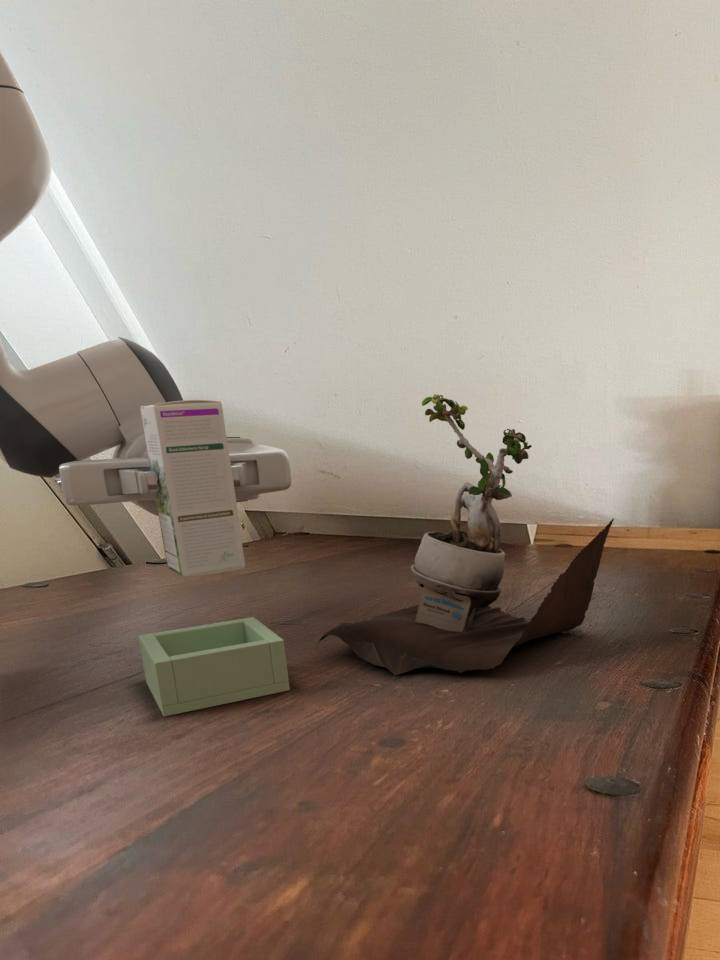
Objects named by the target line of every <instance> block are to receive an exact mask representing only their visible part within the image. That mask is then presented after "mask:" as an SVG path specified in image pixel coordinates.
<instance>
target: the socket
mask: <svg viewBox="0 0 720 960" xmlns="http://www.w3.org/2000/svg"><path fill="white" fill-rule="evenodd" d="M137 638H138V642H139V649H140V654H141V659H142V666H143V671H144V677H145V683H146V685H147V687H148V688H149V691H150V693H151V695H152V697H153V698H154V700H155V702H156V705H157V707H158V709H159V711H160V712H161V714H162V716H163V717H169V716H175V715H179V714H184V713H189V712H193V711H197V710H202V709H207V708H212V707H217V706H221V705H222V706H223V705H226V704H231V703H235V702H241V701H245V700H251V699H254V698H259V697H265V696H269V695H273V694H274V695H275V694H279V693H283V692H289V691H291V687H290V681H289V671H288V664H287V654H286V647H285V645H286V644H285V640H284V639H283V638H282V637H280V636H279V635H278V634H277V633H275V632H274V631H272V630H271V629H270V628H268V627H267V626H266V625H264V624H263V623H262V622H260V621H259V620H258V619H256V618H255V617H254V616H251V617H245V618H238V619H233V620H226V621H219V622H214V623H207V624H200V625H195V626H189V627H181V628H176V629H170V630H164V631H158V632H153V633H146V634H140V635H138V636H137Z"/></svg>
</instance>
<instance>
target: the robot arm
mask: <svg viewBox="0 0 720 960" xmlns="http://www.w3.org/2000/svg"><path fill="white" fill-rule="evenodd" d="M45 138H46V137H45V135H44V133H43V131H42V127H41V125H40V123H39V121H38V118H37V117H36V114H35V112H34V110H33V108H32V106H31V104H30V102H29V100H28V98H27V96H26V94H25V91H24V90H23V88H22V86H21V84H20V82H19V80H18V79H17V77H16V74H15V72H14V71H13V69H12V67H11V65H10V63H9V62H8V61H7V59H6V56H5V55H4V53H3V52H2V50H1V49H0V244H1V243H2V242H3V241H4V240H5V239H6V238H7V237H8V236H10V235H11V234H12V233H13V232H14V231H15V230H17V228H19V227H20V226H21V225H22V224H23V223H24V222H25V221H26V220H27V219H28V218H29V217H30V216H31V215H32V214H33V213H34V212H35V210H37V208H38V207H39V206H40V204H41V203H42V201H43V200H44V197H45V196H46V193H47V191H48V189H49V186H50V183H51V177H52V165H53V164H52V156H51V152H50V148H49V146H48V144H47V140H46V139H45ZM183 400H184V398H183V397H182V394H181V392H180V390H179V387H178V386H177V383H176V382H175V379H174V378H173V377H172V375H171V372H169V370H168V369H167V367H166V365H165V364H164V363H163V362H162V360H160V358H159V357H158V356H157V355H156V354H154V353H153V352H152V351H151V350H149V349H147V348H146V347H144V346H142V345H141V344H139V343H137V342H135V341H133V340H131V339H128V338H125V337H121V336H118V337H116V338H113V339H110V340H106V341H104V342H100V343H97V344H95V345H92V346H89V347H86V348H84V349H81V350H78V351H76V352H75V353H73V354H70V355H67V356H64V357H62V358H59V359H56V360H53V361H51V362H48V363H45V364H41V365H39V366H36V367H34V368H31V369H25V370H23V369H22V370H21V369H18V368H16V367H14V366H13V365H12V364H11V362H10V360H9V357H8V354H7V351H6V349H5V346H4V344H3V341H2V339H1V337H0V459H1V460H2V461H3V462H4V463H6V464H7V465H8V467H9V468H10V469H12V470H14V471H18V472H20V473H24V474H26V475H30V476H36V477H41V478H47V479H48V478H49V479H51V478H54V477H55V478H54V484H55V486H56V487H57V488H61V490H62V494H63V499H64V503H65V504H66V505H68V506H91V505H103V504H116V503H128V502H129V503H132V504H134V505H136V506H138V507H139V508H141V509H143V510H145V511H146V512H147V513H149V514H152V515H154V516H157V517H159V515H158V509H157V503H156V497H155V493H158V492H160V485H159V484H158V483H157V482H158V480H159V478H158V473H157V471H151V469H150V463H149V457H148V451H147V446H146V440H145V434H144V427H143V421H142V415H141V407H140V406H149V405H155V404H161V403H167V402H173V401H183ZM226 438H227V444H228V450H229V457H230V463H231V470H232V476H233V483H234V490H235V496H236V503H242V502H248V501H252V500H257V499H259V497H260V495H262V494H268V493H269V494H270V493H277V492H282V491H285V490H288V489H290V487H291V486H292V474H291V465H290V457H289V454H288V453H287V451H286V450H284V449H282V448H278V447H274V446H271V445H266V444H257V443H254V440H253V439H252V437H251V438H250V437H241V436H226ZM113 448H114V450H113V453H112V457H111V458H105V459H104V458H103V459H101V458H100V459H88V458H91V457H94V456H95V455H98V454H100V453H103V452H105V451H108V450H110V449H113ZM57 475H59V476H57ZM56 476H57V477H56Z"/></svg>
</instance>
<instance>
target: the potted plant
mask: <svg viewBox="0 0 720 960" xmlns="http://www.w3.org/2000/svg"><path fill="white" fill-rule="evenodd" d="M430 402H431V403H432V404H433V408H426V410H425V411H424V415H425V416H426V417H427V416H429V418H428V419H429V421H428V422H429V423H431V422H433V421H434V420H438V421H441V422H447V424H449V426H450V427H451V428H452V430H453V432H454V433H455V434H456V435H457V437H458V438H459V439H458V440H457V441H456V446H457V447H458V448H459V449H465V450H464V456H465V458H466V459H467V460H469V459H471V458H472V457H473V455H474V458H475V462H476V463H477V464H479V466H480V467H479V474H480V475H481V478H480V479H479V481H478V482H477V486H476V485H474V484H473V483H471V482H469V481H465V482H464V483H463V484H462V485H461V487H460V488H459V490H458V492H457V494H456V498H455V502H454V503H455V505H454V511H453V513H452V514H451V516H450V525H451V528H452V531H450V532H441V531H428V532H427V531H426V532H425V533H424V534H423V537H422V539H421V541H420V545H419V546H418V550H417V552H416V553H415V557H414V564H412V565H411V566H410V571H411V572H412V574H413V577H414V579H415V583H416V584H417V585H418V586H419V587H421V588H422V593H421V597H420V600H419V603H418V604H416V605H411V606H407V607H404V608H401V609H397V610H393V611H390V612H387V613H383V614H380V615H375V616H372V617H371V618H368V619H363V620H358V621H354V622H341V623H340V624H338V625H336V626H335V627H333V628H332V629H330V630H328V631H327V632H325V633H323V634H322V636H321V637H320V639H319V640H318V641H317V644H316V646H315V647H317V646H318V644H319V643H320V642H321V641H323V640H324V639H326V638H327V637H328V636H334V637H337V638H339V639H340V640H341V641H343V642H344V643H345V644H346V645H347V646H348V647H349V648H350V649H351V650H352V651H353V652H354V654H356V655H357V657H358V658H360V659H362V660H364V661H365V662H368V663H370V664H372V665H374V666H377V667H383V668H385V669H387V670H388V671H389V672H390V673H392V675H394V676H398V675H402V674H405V673H407V672H411V671H413V670H416V669H442V670H445V671H453V672H458V673H460V674H462V673H464V672H466V671H474V670H475V671H476V670H491V669H495V668H496V666H500V665H502V663H503V662H504V659H505V658H506V657H507V655H509V653H510V651H511V650H512V648H514V647H516V646H518V645H520V644H524V643H527V642H530V641H532V640H535V639H536V640H537V639H538V638H542V637H545V636H550V635H554V634H559V633H565V632H566V633H567V632H570V631H572V630H574V629H576V628H577V627H579V626H582V624H583V623H584V621H585V618H586V613H587V611H588V610H589V606H590V603H591V600H592V596H593V592H594V586H595V580H596V578H597V575H598V572H599V568H600V564H601V559H602V557H603V556H602V555H603V551H604V548H605V543H606V542H607V541H606V540H607V537H608V535H609V533H610V529H611V527H612V525H613V521H614V520H615V518H612V519H611V520H610V521H609V522H608V524H606V525H605V527H604V528H603V529H602V530H600V531H599V532H598V533H597V535H596V536H595V537H594V538H592V540H590V542H588V544H586V545H585V546H584V547H583V548H582V549H581V550H580V552H578V553H577V555H575V557H574V558H573V559H572V561H570V563H569V565H568V566H567V567H566V569H565V571H564V572H562V573H560V574H559V576H558V578H557V579H556V581H554V582H553V585H552V586H550V592H547V595H546V596H545V597H543V601H542V602H541V604H540V605H539V606H538V608H537V611H536V613H535V614H534V616H532V617H531V619H530V621H527V620H526V619H525V617H524V616H523V617H522V616H521V617H517V616H513V615H512V614H511V613H505V612H504V611H502V608H501V607H499V606H498V607H492V606H490V605H491V604H493V603H495V602H496V601H497V600H498V598H499V597H500V595H501V592H502V589H501V587H500V584H501V582H502V579H503V577H504V572H505V559H506V553H505V551H503V549H501V548H499V547H500V546H501V542H502V536H503V535H502V533H503V532H502V526H501V525H502V524H501V522H500V519H499V517H498V514H497V511H496V509H495V507H494V506H493V505H492V503H493V500H496V501H503V500H507V499H510V498H511V497H513V494H512V492H511V491H510V490H509V489H507V488H505V487H506V483H507V481H506V475H505V474H508V475H509V474H510V475H511V474H512V473H513V472H514V470H513V469H510V467H509V466H506V465H505V457H507V456H509V457H510V456H511V460H514V462H515V463H516V464H517V465H520V464H522V462H523V460H528V459H529V453H528V451H526V450H530V449H531V448H532V447H533V445H532V444H529V443H528V441H527V437H526V435H525V434H524V433H522V432H520V431H519V432H516V430H515V429H514V428H512V429H510V428H506V429H504V430H503V437H502V444H504V445H505V446H506V447H505V448H504V447H503V448H502V447H501V448H500V449H499V450H498V453H497V459H496V461H495V458H494V455H493V454H492V453H491V452H487V454H486V456H485V455H483V454H482V453H481V452H480V451H478V450H477V449H476V448H475V447H474V446H472V444H471V443H470V441H469V440H468V439H467V438H466V437H465V436H464V434H463V433H462V432H461V431H460V429H461V430H462V431H464V430H465V427H466V423H465V422H464V421H463V419H462V416H465V414H466V411H468V409H469V407H468V406H466V405H461V406H460V405H459V403H458V401H456V400H455V401H454V400H453V399H450V398H449V399H448V398H447V397H444V395H442V394H436V393H434V394H433V395H432V396H428V397H427V396H426V398H423V399H422V401H421V406H423V407H424V406H426V405H428V404H429V403H430ZM447 406H448V407H449V408H450V410H447ZM506 431H507V432H506ZM521 443H522V444H523V447H522V445H521ZM494 462H495V464H494ZM503 472H504V473H503ZM501 480H502V485H500V484H501ZM466 492H467V493H468V495H467V494H465V495H464V493H466ZM462 508H464V509H466V510H467V512H468V517H467V531H466V530H463V529H461V526H462V525H461V524H462Z"/></svg>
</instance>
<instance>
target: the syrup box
mask: <svg viewBox="0 0 720 960" xmlns="http://www.w3.org/2000/svg"><path fill="white" fill-rule="evenodd" d="M140 407H141V415H142V421H143V427H144V434H145V440H146V446H147V451H148V457H149V463H150V469H151V471H157V473H158V478H159V480H158V482H157V483H158V484H159V485H160V492H158V493H155V497H156V503H157V509H158V515H159V516H158V521H159V527H160V533H161V539H162V543H163V549H164V555H165V561H166V566H167V569H169V570H171V571H172V572H174V573H176V574H178V575H179V576H182V577H195V576H196V577H197V576H205V575H213V574H219V573H225V572H232V571H236V570H237V571H238V570H244V569H246V562H245V561H246V560H245V554H244V547H243V540H242V539H243V538H242V532H241V524H240V518H239V512H238V511H239V510H238V502H236V496H235V490H234V483H233V476H232V470H231V463H230V457H229V450H228V444H227V438H226V437H227V431H226V425H225V419H224V410H223V404H222V401H218V400H209V399H183V401H173V402H167V403H161V404H155V405H149V406H140Z"/></svg>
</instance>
